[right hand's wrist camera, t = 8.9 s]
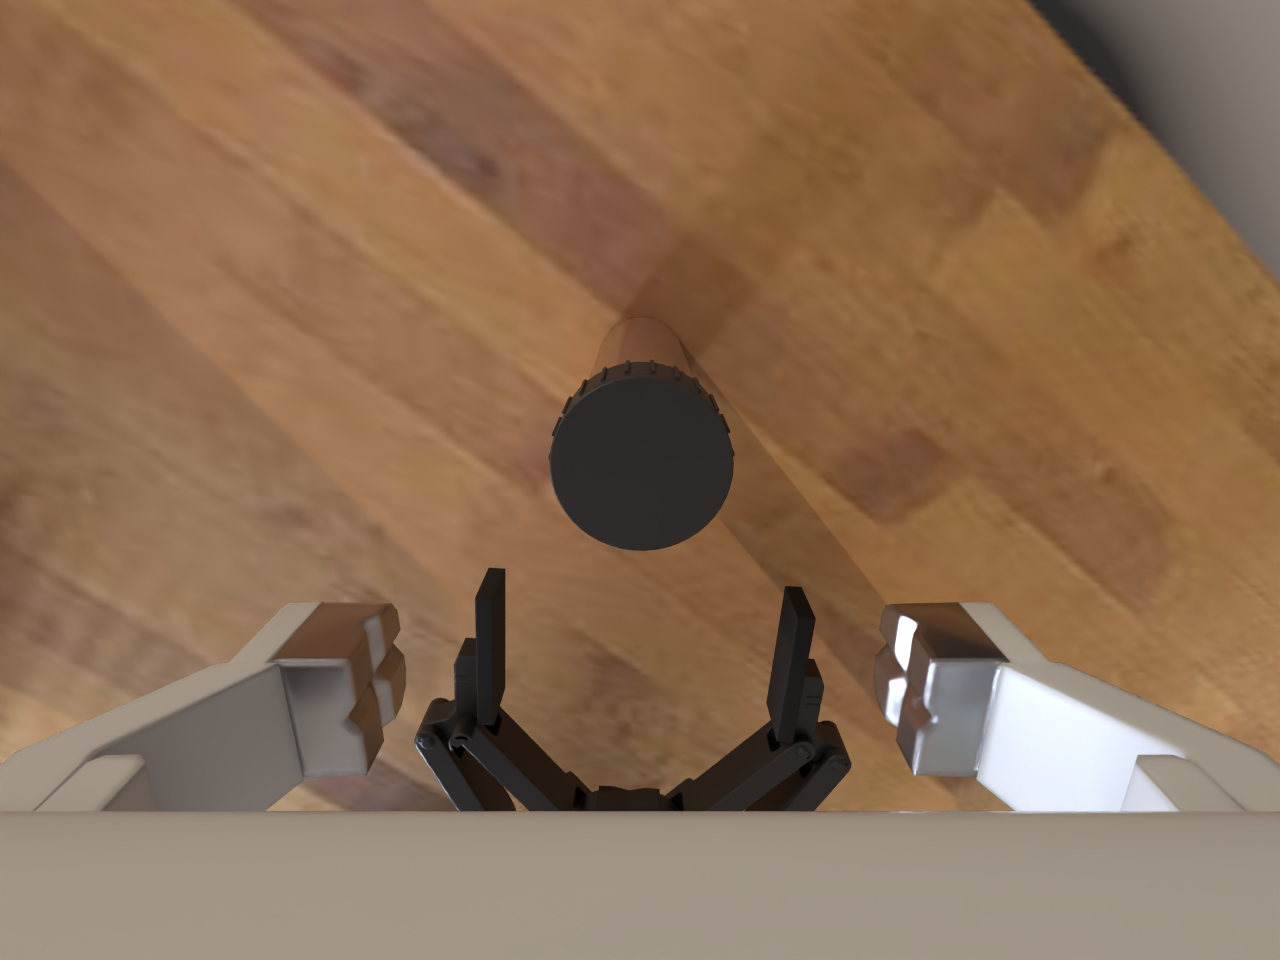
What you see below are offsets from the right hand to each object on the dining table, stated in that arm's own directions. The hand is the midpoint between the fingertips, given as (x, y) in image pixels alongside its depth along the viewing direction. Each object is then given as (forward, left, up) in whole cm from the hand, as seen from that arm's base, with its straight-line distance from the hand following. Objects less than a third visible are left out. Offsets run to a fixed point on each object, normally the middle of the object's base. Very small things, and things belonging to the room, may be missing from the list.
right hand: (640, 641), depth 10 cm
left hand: (-3, -8, -18) cm, 20 cm away
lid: (0, 0, -8) cm, 8 cm away
